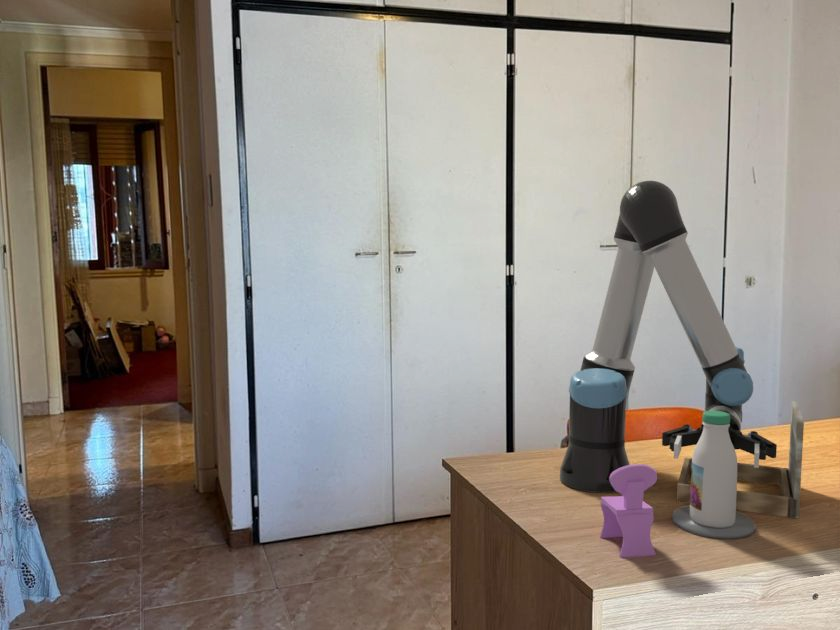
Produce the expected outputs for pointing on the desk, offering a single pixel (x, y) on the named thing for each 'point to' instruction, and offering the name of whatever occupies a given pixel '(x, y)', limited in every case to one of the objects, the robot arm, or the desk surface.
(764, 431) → the desk surface
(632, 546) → the toy chair
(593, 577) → the desk surface
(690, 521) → the pad
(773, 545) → the desk surface
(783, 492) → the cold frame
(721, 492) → the milk bottle
